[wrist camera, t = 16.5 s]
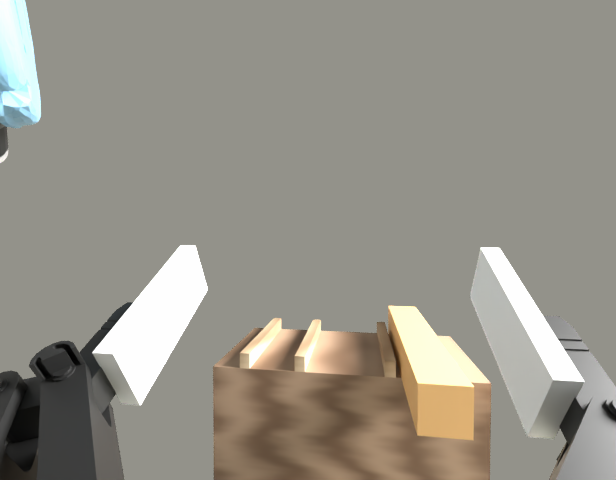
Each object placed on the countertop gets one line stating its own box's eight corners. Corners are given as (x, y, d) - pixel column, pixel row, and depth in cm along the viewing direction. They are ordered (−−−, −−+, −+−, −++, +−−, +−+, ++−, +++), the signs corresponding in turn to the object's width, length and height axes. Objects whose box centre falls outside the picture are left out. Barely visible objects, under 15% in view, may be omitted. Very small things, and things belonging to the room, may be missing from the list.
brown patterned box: (214, 658, 35) (213, 351, 34) (255, 537, 49) (255, 317, 48) (486, 710, 31) (491, 366, 31) (447, 563, 45) (450, 324, 44)
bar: (417, 435, 23) (417, 383, 23) (388, 331, 47) (388, 305, 46) (473, 440, 22) (474, 386, 22) (415, 332, 46) (415, 306, 46)
